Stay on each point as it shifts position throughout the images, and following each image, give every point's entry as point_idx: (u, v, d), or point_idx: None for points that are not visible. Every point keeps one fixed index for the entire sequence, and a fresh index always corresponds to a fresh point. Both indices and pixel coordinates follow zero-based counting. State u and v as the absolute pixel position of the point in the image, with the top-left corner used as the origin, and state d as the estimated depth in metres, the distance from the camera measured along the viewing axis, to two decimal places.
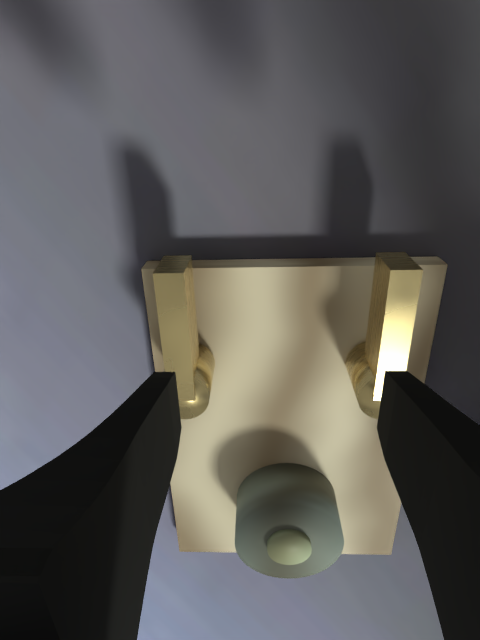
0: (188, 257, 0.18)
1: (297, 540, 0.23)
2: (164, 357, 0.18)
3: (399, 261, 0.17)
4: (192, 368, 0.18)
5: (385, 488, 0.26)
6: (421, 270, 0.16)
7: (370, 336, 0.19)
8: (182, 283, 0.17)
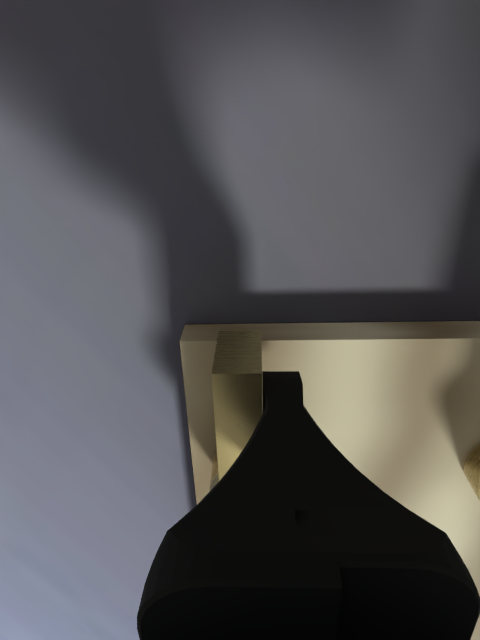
0: (257, 335, 0.12)
1: None
2: None
3: None
4: None
5: None
6: None
7: None
8: (258, 388, 0.10)
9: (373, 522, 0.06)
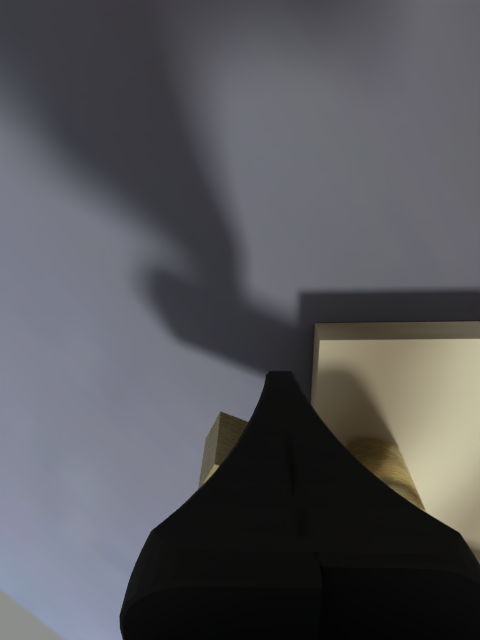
0: (218, 419, 0.13)
1: None
2: None
3: None
4: None
5: None
6: None
7: None
8: None
9: (387, 523, 0.06)
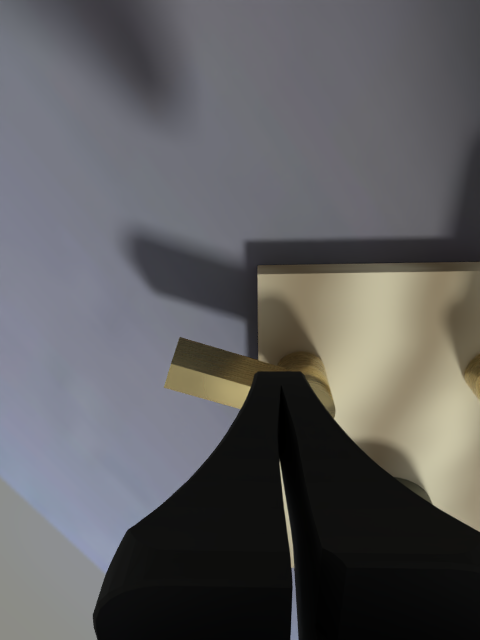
0: (178, 341, 0.19)
1: None
2: None
3: None
4: None
5: None
6: None
7: None
8: (180, 368, 0.17)
9: (407, 523, 0.06)
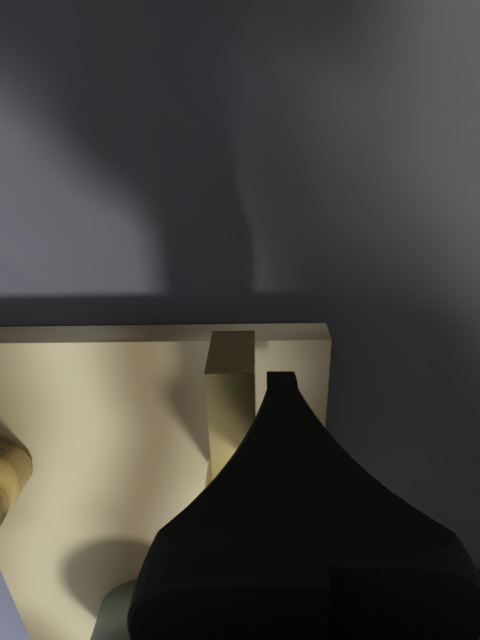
0: None
1: None
2: None
3: (231, 352, 0.11)
4: None
5: None
6: (251, 374, 0.10)
7: None
8: None
9: (382, 522, 0.06)
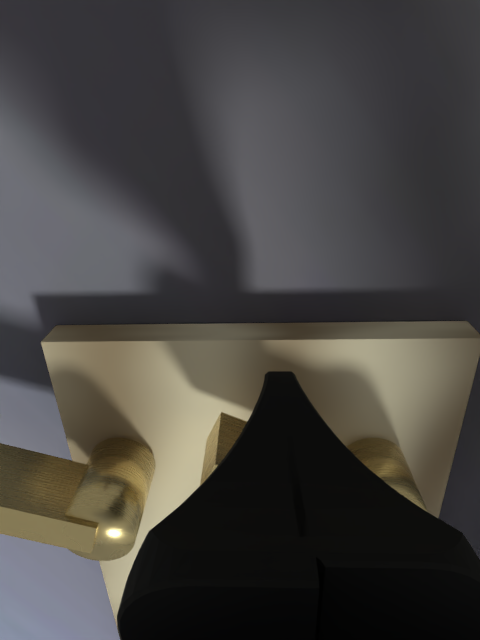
0: None
1: None
2: (17, 536, 0.13)
3: (210, 452, 0.13)
4: (43, 513, 0.13)
5: None
6: (214, 467, 0.11)
7: None
8: None
9: (389, 522, 0.06)
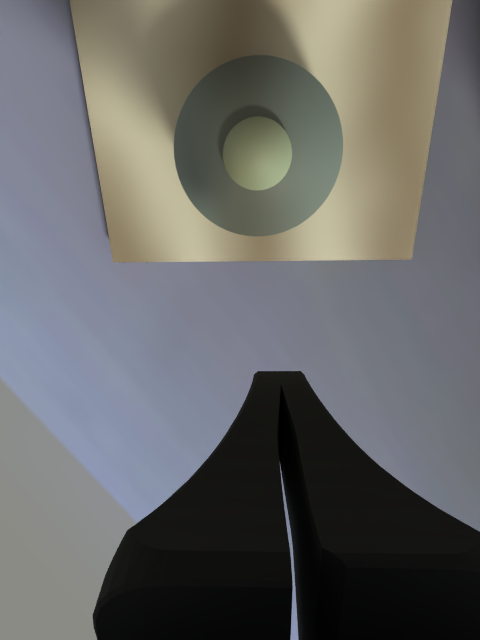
0: None
1: (268, 128, 0.14)
2: None
3: None
4: None
5: (406, 115, 0.17)
6: None
7: None
8: None
9: (408, 523, 0.06)
